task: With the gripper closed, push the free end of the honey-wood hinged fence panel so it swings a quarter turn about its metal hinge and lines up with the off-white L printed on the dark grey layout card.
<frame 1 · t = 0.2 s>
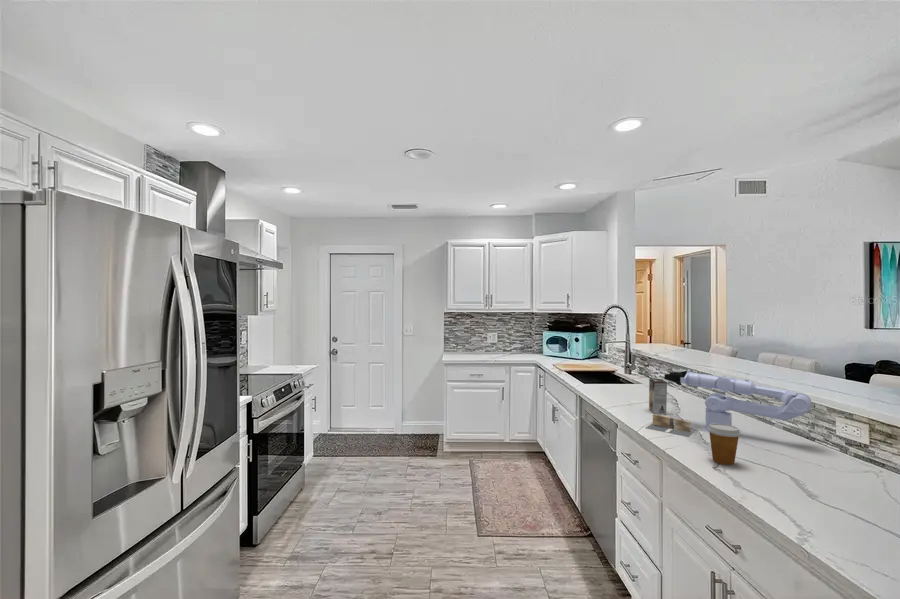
hand: (667, 375, 197), 21 cm above the worktop, tool horizontal, fingers open, 7 cm apart
layout card: (671, 430, 184), on the worktop
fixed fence: (682, 432, 182), resting on layout card
hinged panel: (663, 421, 187), point 3 cm above the worktop, hinge at 0.0°
disposable coffee cup: (723, 462, 148), on the worktop
coffee box: (657, 412, 214), on the worktop
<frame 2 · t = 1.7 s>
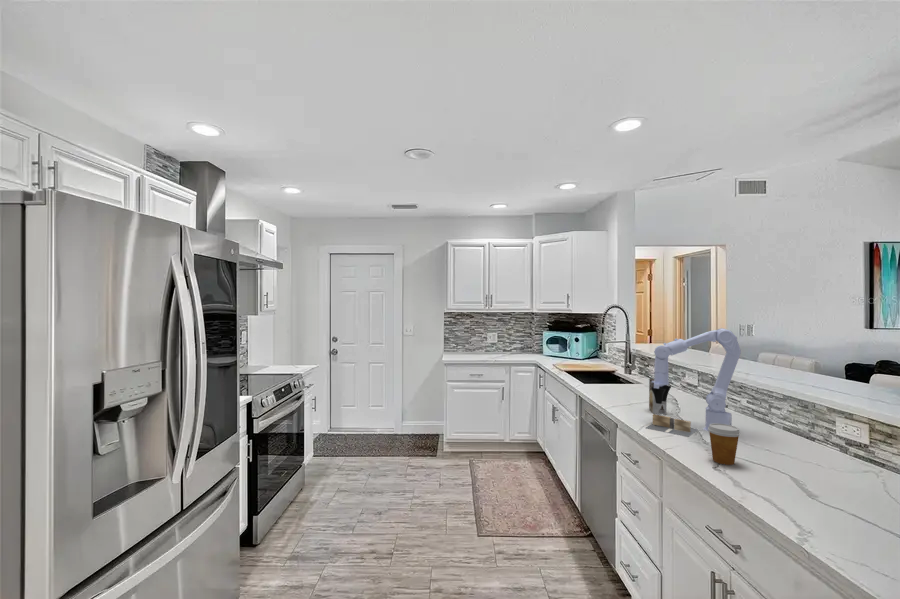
hand: (661, 402, 193), 10 cm above the worktop, tool pointing down, fingers open, 6 cm apart
nothing on the worktop moved.
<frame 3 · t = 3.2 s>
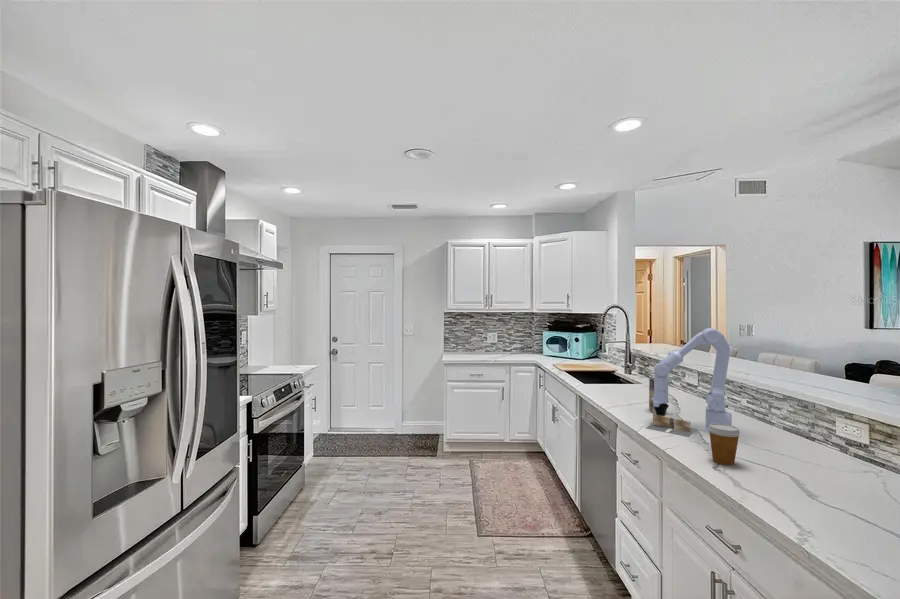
hand: (660, 420, 192), 2 cm above the worktop, tool pointing down, fingers closed
nothing on the worktop moved.
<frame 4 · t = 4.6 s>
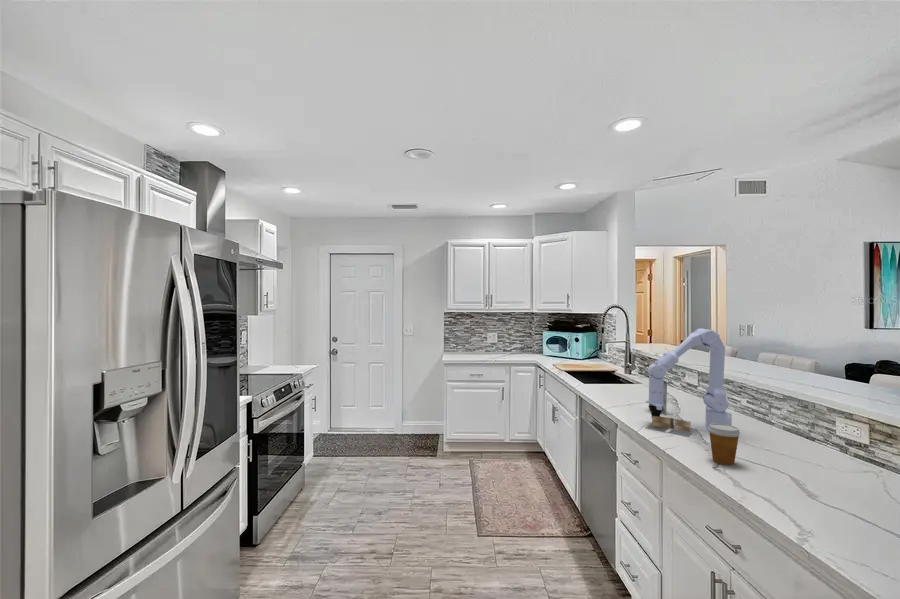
hand: (655, 422, 188), 2 cm above the worktop, tool pointing down, fingers closed, pressing on hinged panel
hinged panel: (662, 422, 185), point 3 cm above the worktop, hinge at 25.1°, touching gripper
everything else where it was.
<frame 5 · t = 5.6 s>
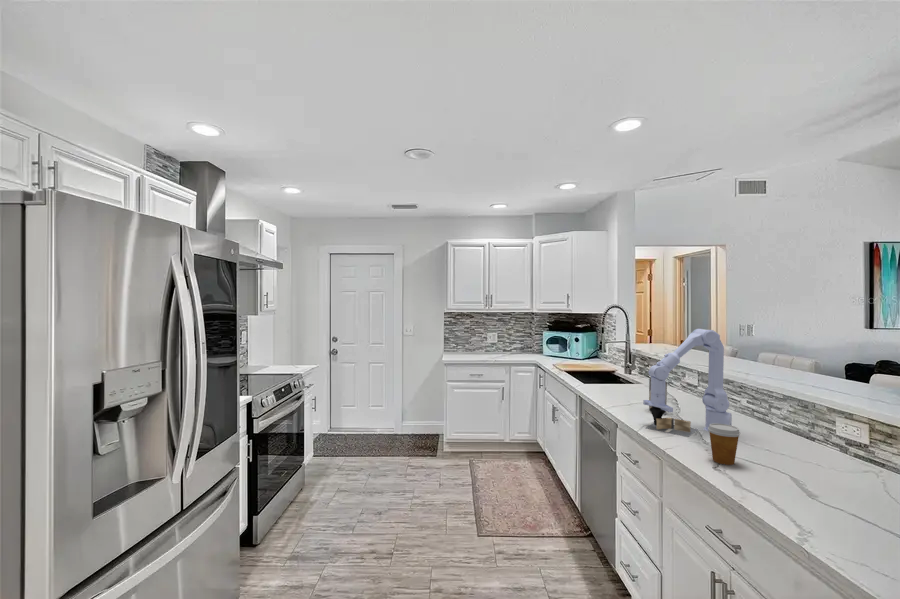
hand: (657, 425, 184), 2 cm above the worktop, tool pointing down, fingers closed, pressing on hinged panel
hinged panel: (665, 423, 183), point 3 cm above the worktop, hinge at 60.3°, touching gripper
everything else where it was.
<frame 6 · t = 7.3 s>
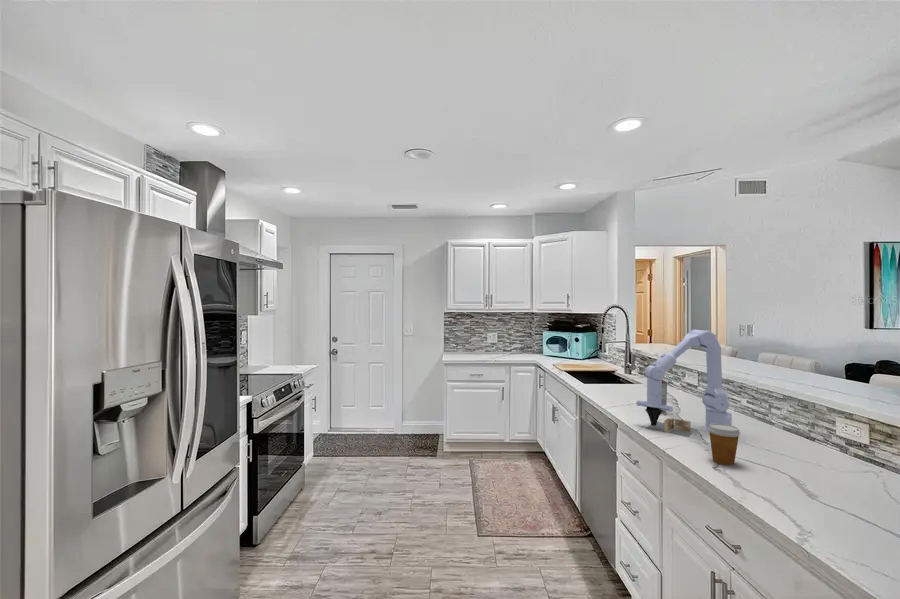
hand: (653, 425, 184), 2 cm above the worktop, tool pointing down, fingers closed
hinged panel: (669, 424, 182), point 3 cm above the worktop, hinge at 88.6°
everything else where it was.
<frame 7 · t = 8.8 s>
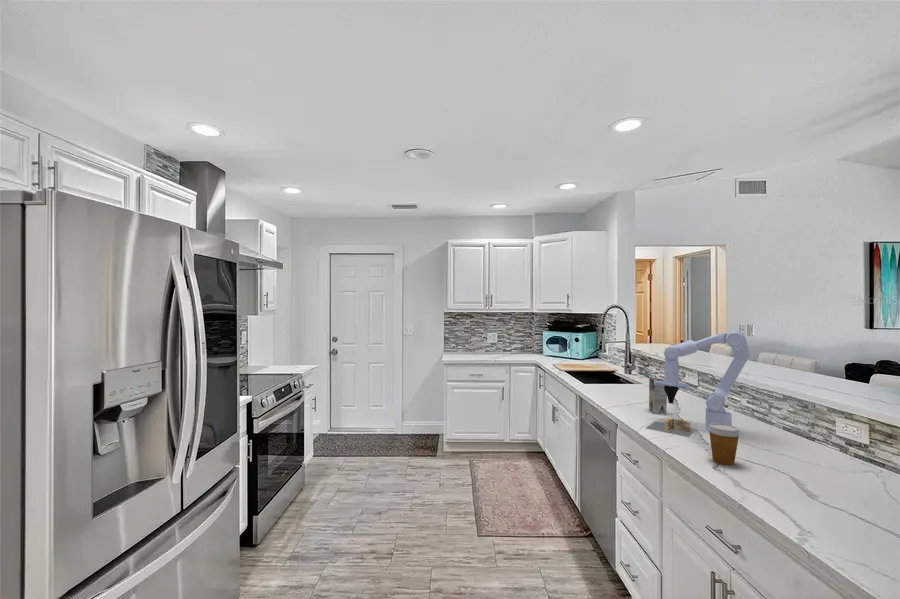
hand: (671, 403, 194), 9 cm above the worktop, tool pointing down, fingers closed
hinged panel: (669, 424, 182), point 3 cm above the worktop, hinge at 89.0°
everything else where it was.
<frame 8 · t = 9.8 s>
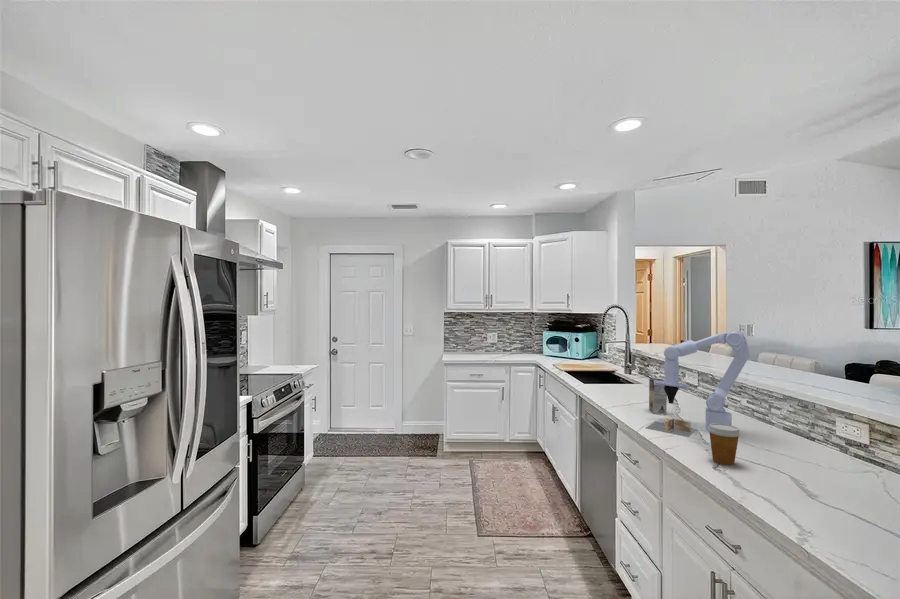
hand: (671, 403, 194), 9 cm above the worktop, tool pointing down, fingers closed
nothing on the worktop moved.
at the end: hinged panel at +89° (first picture: +0°); coffee box moved 0.2 cm from its start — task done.
